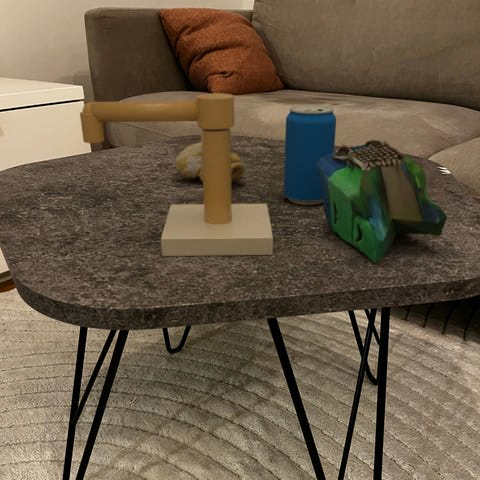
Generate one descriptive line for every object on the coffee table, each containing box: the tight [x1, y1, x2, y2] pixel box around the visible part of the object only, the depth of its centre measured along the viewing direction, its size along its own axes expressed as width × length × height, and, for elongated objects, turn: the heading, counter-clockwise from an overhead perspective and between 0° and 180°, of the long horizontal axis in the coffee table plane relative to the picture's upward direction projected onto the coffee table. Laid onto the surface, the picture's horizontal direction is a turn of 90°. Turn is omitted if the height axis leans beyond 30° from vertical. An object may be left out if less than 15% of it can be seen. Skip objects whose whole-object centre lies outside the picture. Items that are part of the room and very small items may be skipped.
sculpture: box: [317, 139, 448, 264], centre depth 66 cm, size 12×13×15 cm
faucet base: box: [160, 128, 274, 257], centre depth 66 cm, size 12×12×12 cm
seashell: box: [174, 141, 247, 183], centre depth 90 cm, size 10×6×15 cm
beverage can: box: [283, 104, 337, 206], centre depth 79 cm, size 6×6×12 cm
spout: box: [79, 92, 235, 144], centre depth 63 cm, size 16×4×4 cm, turn 91°
